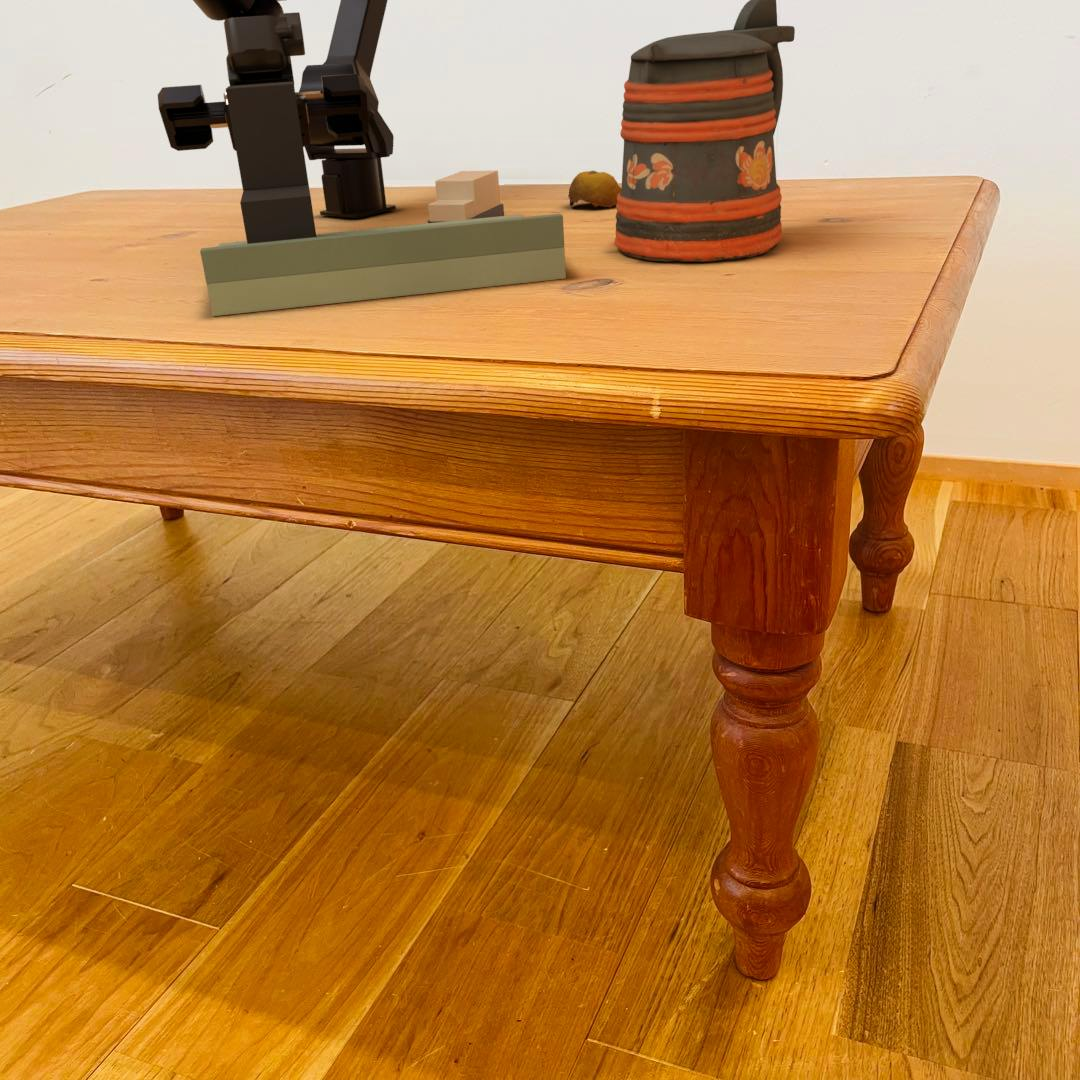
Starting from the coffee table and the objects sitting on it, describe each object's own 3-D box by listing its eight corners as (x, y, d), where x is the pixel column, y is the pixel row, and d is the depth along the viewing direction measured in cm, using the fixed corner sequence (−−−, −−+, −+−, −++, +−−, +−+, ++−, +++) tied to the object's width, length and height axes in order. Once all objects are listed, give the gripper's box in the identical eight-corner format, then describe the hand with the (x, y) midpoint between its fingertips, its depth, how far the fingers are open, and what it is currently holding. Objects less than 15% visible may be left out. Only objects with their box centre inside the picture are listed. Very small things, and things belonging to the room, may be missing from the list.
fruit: (653, 200, 120) (653, 166, 119) (607, 212, 115) (606, 176, 113) (596, 196, 126) (595, 163, 124) (549, 208, 120) (547, 173, 119)
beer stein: (698, 219, 108) (699, -3, 99) (833, 229, 99) (847, -14, 91) (582, 255, 95) (572, 3, 87) (726, 270, 87) (731, -8, 78)
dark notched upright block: (254, 240, 98) (228, 86, 92) (315, 235, 98) (293, 81, 93) (251, 266, 87) (220, 92, 81) (319, 259, 88) (294, 87, 82)
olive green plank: (224, 271, 99) (213, 215, 96) (522, 241, 103) (519, 186, 101) (212, 316, 83) (199, 250, 80) (566, 278, 87) (563, 215, 85)
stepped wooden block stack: (466, 218, 117) (461, 170, 115) (504, 218, 116) (501, 169, 114) (428, 235, 109) (423, 184, 107) (469, 235, 107) (465, 183, 105)
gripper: (137, -12, 94) (150, 131, 89) (351, -24, 97) (375, 114, 92) (165, 82, 105) (178, 215, 100) (358, 69, 108) (379, 197, 103)
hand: (276, 185), depth 98 cm, fingers closed
